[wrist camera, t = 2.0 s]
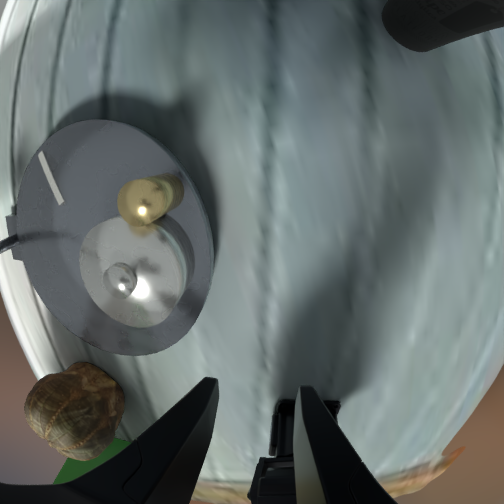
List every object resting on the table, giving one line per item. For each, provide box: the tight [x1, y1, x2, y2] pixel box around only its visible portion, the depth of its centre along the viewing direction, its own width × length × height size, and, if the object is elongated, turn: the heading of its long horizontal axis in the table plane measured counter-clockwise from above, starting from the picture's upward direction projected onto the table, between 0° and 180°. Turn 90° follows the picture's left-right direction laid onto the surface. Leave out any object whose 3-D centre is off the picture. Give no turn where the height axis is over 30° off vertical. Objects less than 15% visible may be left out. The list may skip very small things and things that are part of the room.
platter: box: [16, 119, 214, 356], centre depth 18 cm, size 20×20×5 cm
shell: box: [24, 362, 125, 461], centre depth 23 cm, size 11×11×12 cm
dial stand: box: [0, 214, 23, 261], centre depth 18 cm, size 7×5×10 cm
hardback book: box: [53, 438, 131, 484], centre depth 24 cm, size 18×7×24 cm, turn 96°
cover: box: [79, 214, 195, 327], centre depth 16 cm, size 7×7×4 cm
